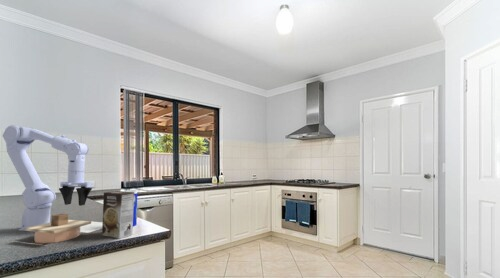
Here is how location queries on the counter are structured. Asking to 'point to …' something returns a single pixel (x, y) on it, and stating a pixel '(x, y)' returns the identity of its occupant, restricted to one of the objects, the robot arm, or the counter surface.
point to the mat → (91, 227)
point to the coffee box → (118, 214)
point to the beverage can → (134, 207)
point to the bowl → (56, 236)
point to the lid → (58, 224)
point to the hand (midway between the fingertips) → (74, 204)
